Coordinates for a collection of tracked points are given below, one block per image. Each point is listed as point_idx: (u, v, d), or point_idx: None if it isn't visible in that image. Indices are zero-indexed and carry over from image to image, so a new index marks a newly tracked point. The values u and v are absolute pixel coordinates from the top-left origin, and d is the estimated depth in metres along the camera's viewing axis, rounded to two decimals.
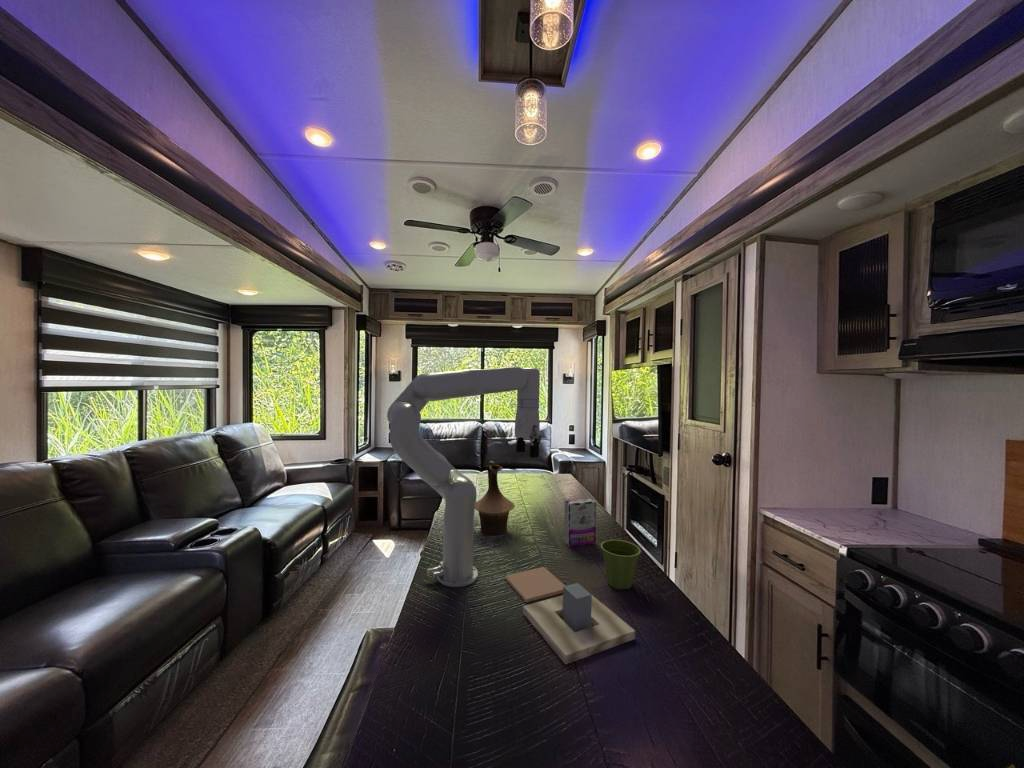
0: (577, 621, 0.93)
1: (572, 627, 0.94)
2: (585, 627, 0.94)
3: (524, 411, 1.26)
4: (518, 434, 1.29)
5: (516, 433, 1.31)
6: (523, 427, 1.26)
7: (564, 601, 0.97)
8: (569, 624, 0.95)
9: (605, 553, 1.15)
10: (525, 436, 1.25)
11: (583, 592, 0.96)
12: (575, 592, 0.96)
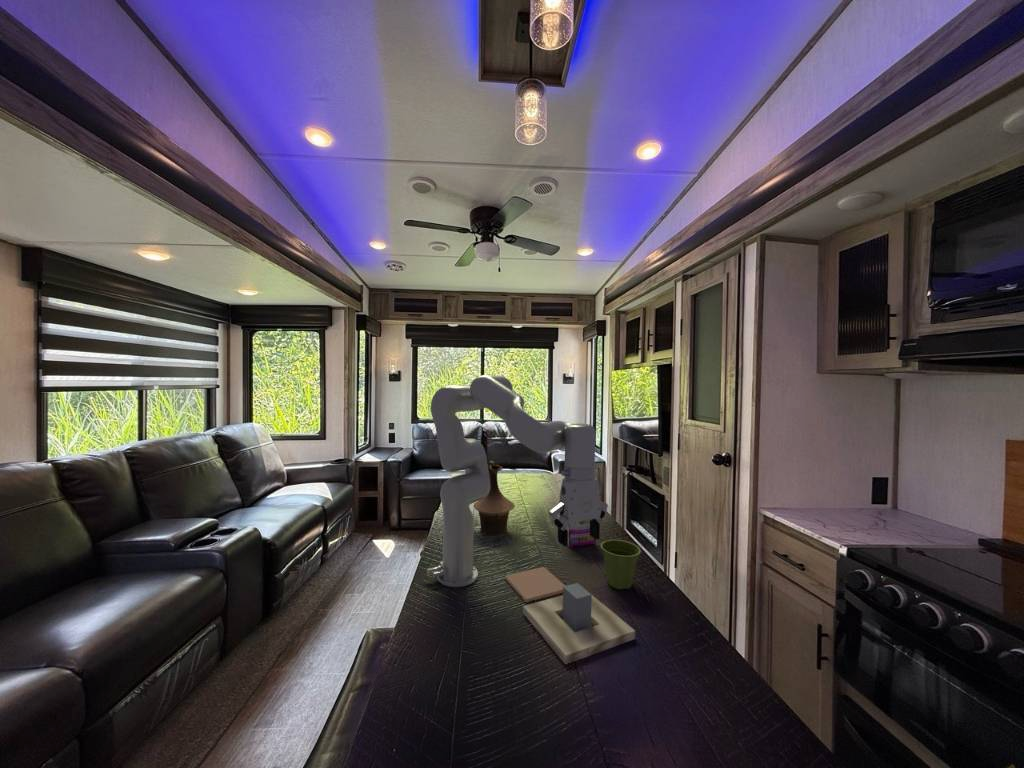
0: (577, 621, 0.93)
1: (572, 627, 0.94)
2: (585, 627, 0.94)
3: (592, 483, 0.95)
4: (580, 518, 0.93)
5: (576, 518, 0.92)
6: (593, 504, 0.95)
7: (564, 601, 0.97)
8: (569, 624, 0.95)
9: (605, 553, 1.15)
10: (597, 515, 0.95)
11: (583, 592, 0.96)
12: (575, 592, 0.96)
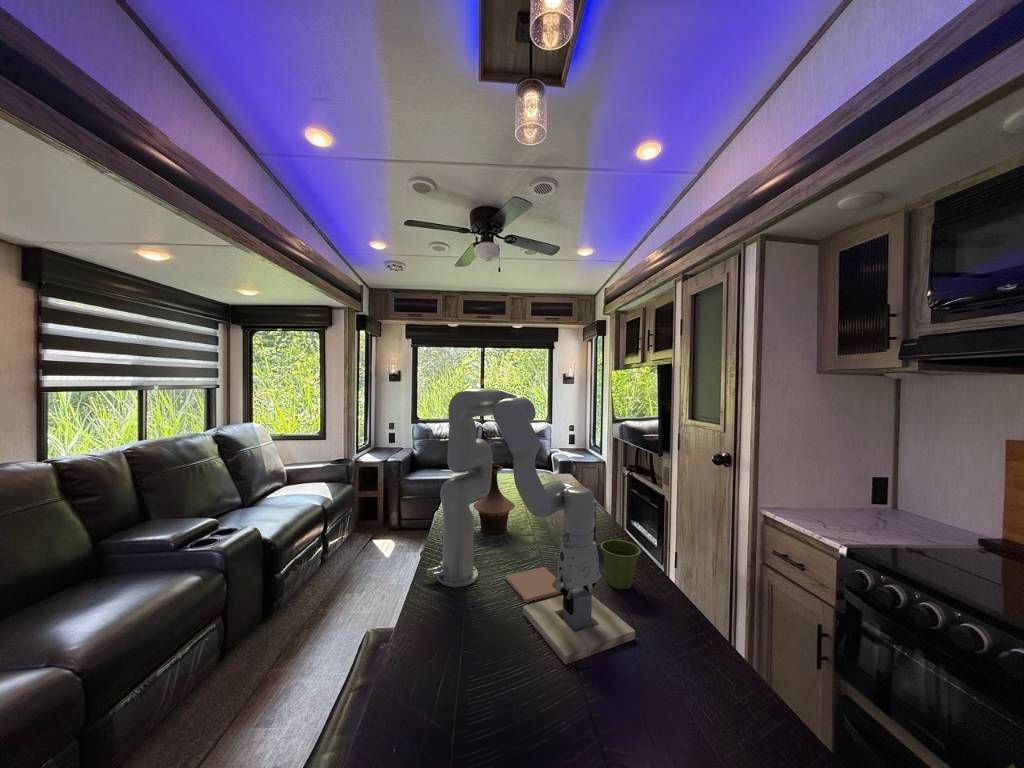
0: (577, 621, 0.93)
1: (572, 627, 0.94)
2: (585, 627, 0.94)
3: (591, 548, 0.95)
4: (579, 585, 0.93)
5: (574, 585, 0.93)
6: (591, 570, 0.95)
7: None
8: (569, 624, 0.95)
9: (605, 553, 1.15)
10: (595, 580, 0.95)
11: (583, 592, 0.96)
12: (575, 592, 0.96)
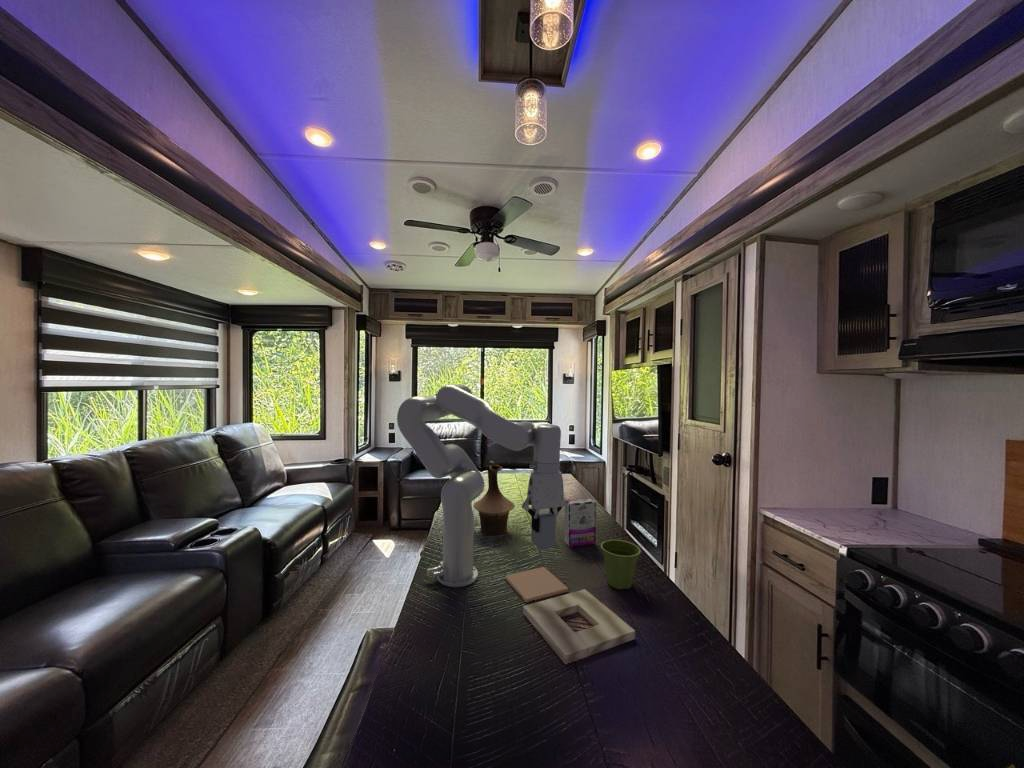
0: (542, 537, 1.07)
1: (538, 543, 1.09)
2: (549, 543, 1.08)
3: (557, 476, 1.09)
4: (544, 506, 1.08)
5: (540, 506, 1.07)
6: (556, 495, 1.09)
7: None
8: (536, 541, 1.10)
9: (605, 553, 1.15)
10: (559, 504, 1.10)
11: (549, 514, 1.10)
12: (542, 514, 1.10)
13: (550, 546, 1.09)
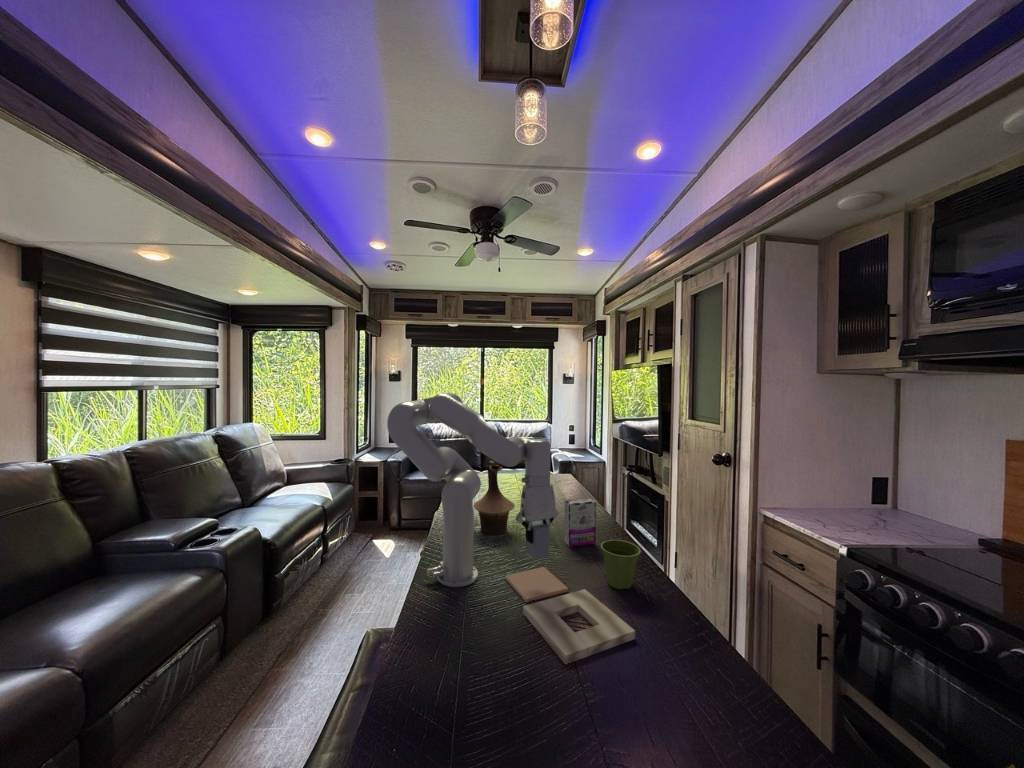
0: (536, 548, 1.12)
1: (533, 553, 1.13)
2: (543, 553, 1.13)
3: (548, 488, 1.14)
4: (537, 518, 1.12)
5: (533, 518, 1.11)
6: (548, 506, 1.14)
7: None
8: (530, 552, 1.14)
9: (605, 553, 1.15)
10: (551, 515, 1.14)
11: (542, 525, 1.14)
12: (535, 525, 1.14)
13: (544, 556, 1.13)
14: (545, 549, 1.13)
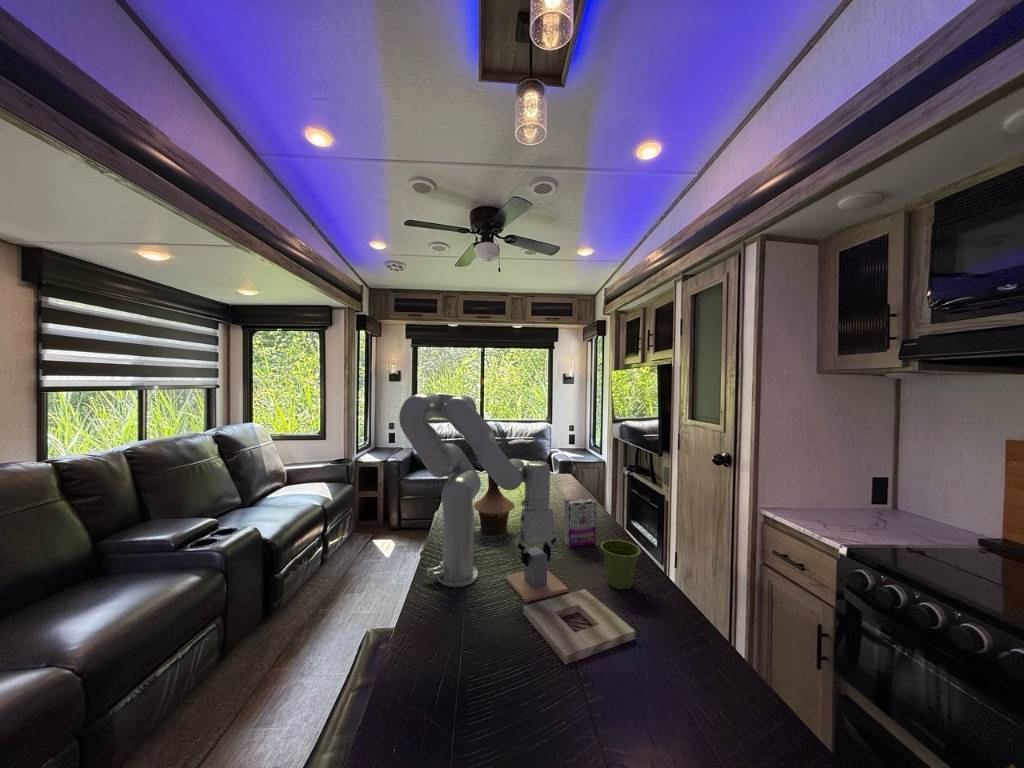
0: (534, 576, 1.12)
1: (531, 582, 1.13)
2: (542, 582, 1.13)
3: (547, 511, 1.14)
4: (536, 541, 1.12)
5: (532, 541, 1.12)
6: (547, 529, 1.14)
7: None
8: (529, 580, 1.14)
9: (605, 553, 1.15)
10: (550, 539, 1.14)
11: (540, 553, 1.15)
12: (534, 553, 1.15)
13: (542, 584, 1.13)
14: (543, 577, 1.13)
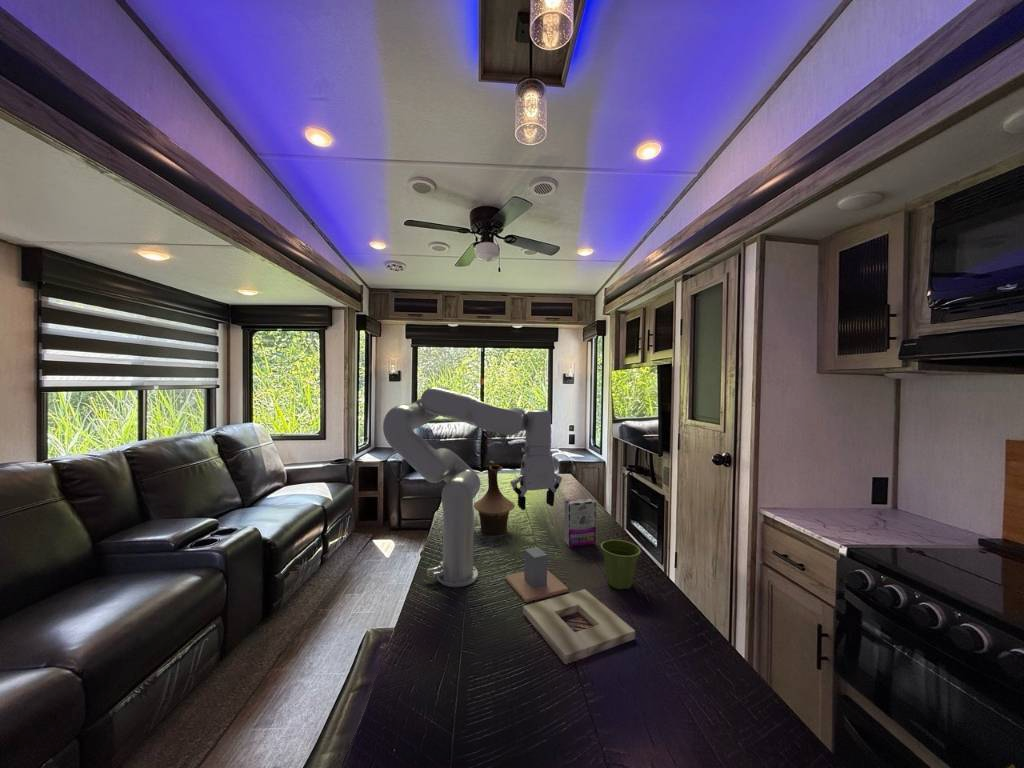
0: (534, 576, 1.12)
1: (531, 582, 1.13)
2: (542, 582, 1.13)
3: (548, 458, 1.14)
4: (536, 487, 1.12)
5: (532, 487, 1.12)
6: (548, 476, 1.14)
7: (525, 561, 1.16)
8: (529, 580, 1.14)
9: (605, 553, 1.15)
10: (551, 486, 1.15)
11: (540, 553, 1.15)
12: (534, 553, 1.15)
13: (542, 584, 1.13)
14: (543, 577, 1.13)
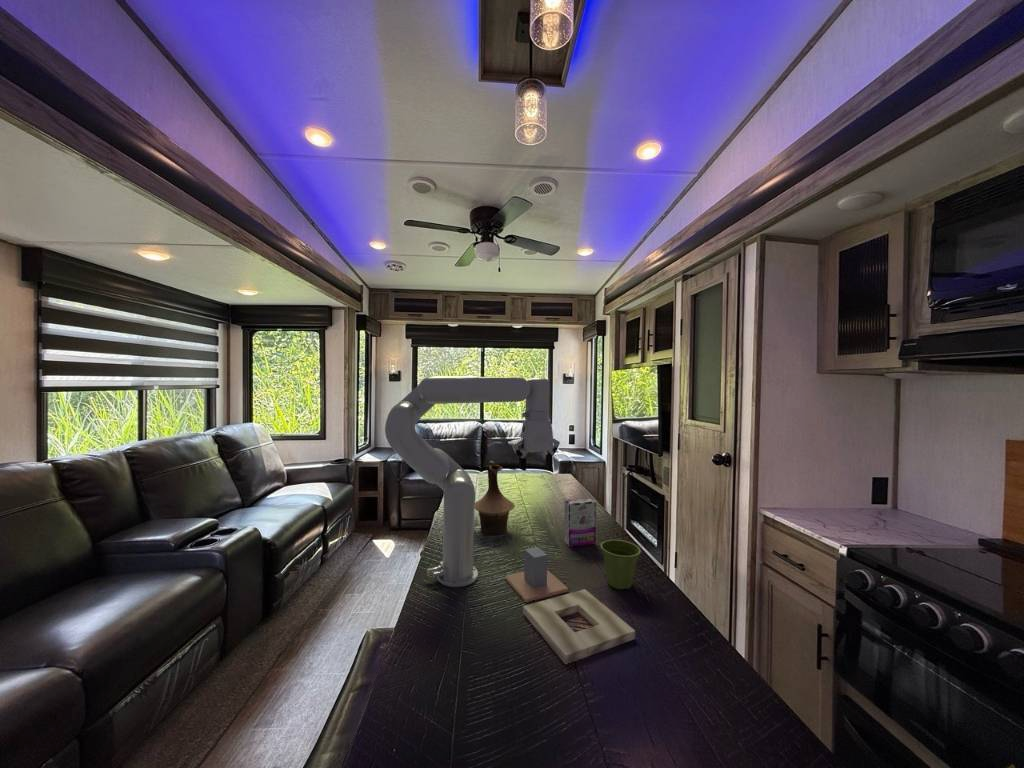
0: (534, 576, 1.12)
1: (531, 582, 1.13)
2: (542, 582, 1.13)
3: (546, 423, 1.23)
4: (536, 449, 1.21)
5: (532, 449, 1.20)
6: (546, 440, 1.22)
7: (525, 561, 1.16)
8: (529, 580, 1.14)
9: (605, 553, 1.15)
10: (549, 448, 1.23)
11: (540, 553, 1.15)
12: (534, 553, 1.15)
13: (542, 584, 1.13)
14: (543, 577, 1.13)
